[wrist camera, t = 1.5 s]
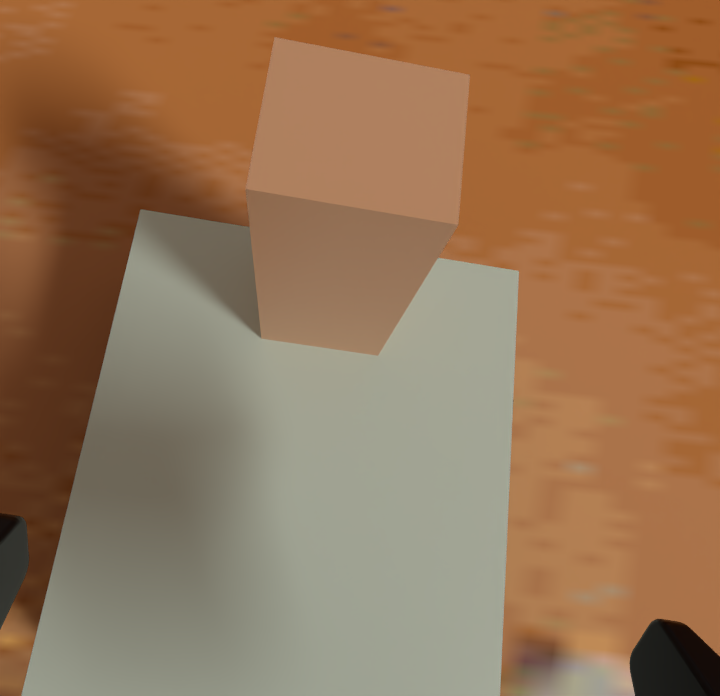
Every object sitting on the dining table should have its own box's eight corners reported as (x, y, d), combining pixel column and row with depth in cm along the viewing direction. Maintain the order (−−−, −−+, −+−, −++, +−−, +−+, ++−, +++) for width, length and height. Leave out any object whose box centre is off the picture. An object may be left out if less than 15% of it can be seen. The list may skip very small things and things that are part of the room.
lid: (467, 735, 18) (736, 1050, 7) (51, 697, 17) (-333, 1004, 6) (492, 297, 22) (690, 95, 11) (156, 244, 21) (29, -35, 10)
